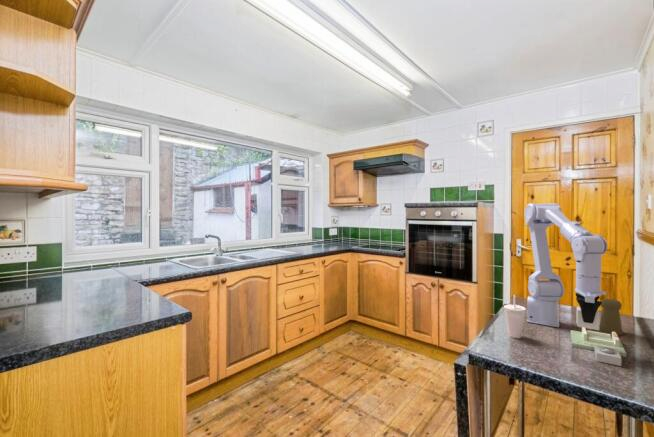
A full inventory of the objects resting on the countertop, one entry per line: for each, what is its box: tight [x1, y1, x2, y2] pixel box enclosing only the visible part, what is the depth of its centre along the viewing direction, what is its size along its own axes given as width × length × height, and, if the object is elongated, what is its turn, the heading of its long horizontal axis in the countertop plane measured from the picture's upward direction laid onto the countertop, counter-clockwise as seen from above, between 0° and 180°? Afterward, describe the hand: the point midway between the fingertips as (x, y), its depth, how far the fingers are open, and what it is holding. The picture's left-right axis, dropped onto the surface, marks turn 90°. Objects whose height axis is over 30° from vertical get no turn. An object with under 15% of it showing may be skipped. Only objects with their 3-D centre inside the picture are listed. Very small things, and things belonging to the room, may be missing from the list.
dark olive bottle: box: [598, 298, 624, 336], centre depth 104 cm, size 6×6×11 cm
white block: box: [575, 306, 601, 331], centre depth 92 cm, size 5×4×5 cm
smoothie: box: [503, 294, 527, 339], centre depth 102 cm, size 6×6×14 cm
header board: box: [569, 327, 627, 358], centre depth 95 cm, size 12×12×3 cm
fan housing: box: [593, 345, 622, 367], centre depth 86 cm, size 5×6×3 cm
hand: (587, 320), depth 92 cm, fingers closed on white block, 4 cm apart
